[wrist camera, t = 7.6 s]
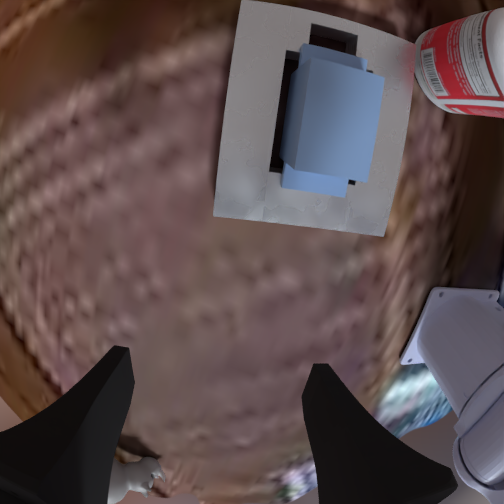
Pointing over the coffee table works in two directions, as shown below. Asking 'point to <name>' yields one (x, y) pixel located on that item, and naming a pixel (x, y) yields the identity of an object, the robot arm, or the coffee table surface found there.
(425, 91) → the pill bottle
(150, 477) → the round bodied animal figurine
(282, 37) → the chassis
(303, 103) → the block
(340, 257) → the coffee table surface
